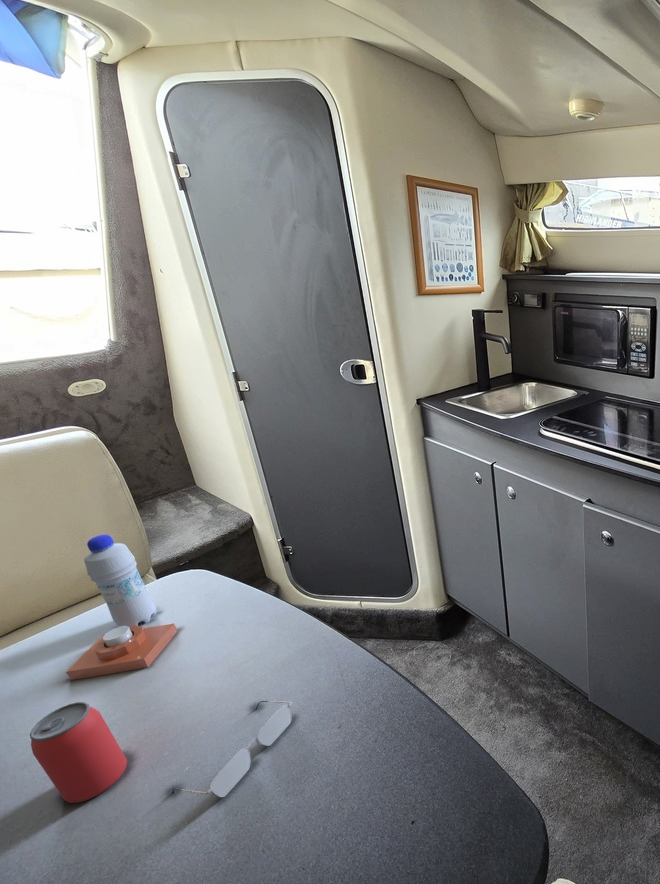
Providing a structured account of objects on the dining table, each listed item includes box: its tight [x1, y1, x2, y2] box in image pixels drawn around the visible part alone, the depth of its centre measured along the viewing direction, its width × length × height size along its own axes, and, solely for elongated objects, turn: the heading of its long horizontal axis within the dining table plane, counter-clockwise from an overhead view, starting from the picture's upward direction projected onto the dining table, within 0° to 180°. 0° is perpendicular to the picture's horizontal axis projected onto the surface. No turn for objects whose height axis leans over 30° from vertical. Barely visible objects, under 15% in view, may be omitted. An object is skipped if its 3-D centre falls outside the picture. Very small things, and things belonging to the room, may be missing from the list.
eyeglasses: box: [172, 700, 293, 798], centre depth 72 cm, size 14×8×4 cm, turn 166°
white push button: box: [103, 626, 133, 647], centre depth 89 cm, size 4×4×2 cm
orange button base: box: [65, 623, 178, 681], centre depth 90 cm, size 12×9×4 cm
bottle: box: [83, 534, 157, 627], centre depth 96 cm, size 7×7×20 cm
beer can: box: [29, 701, 128, 804], centre depth 67 cm, size 7×7×12 cm
